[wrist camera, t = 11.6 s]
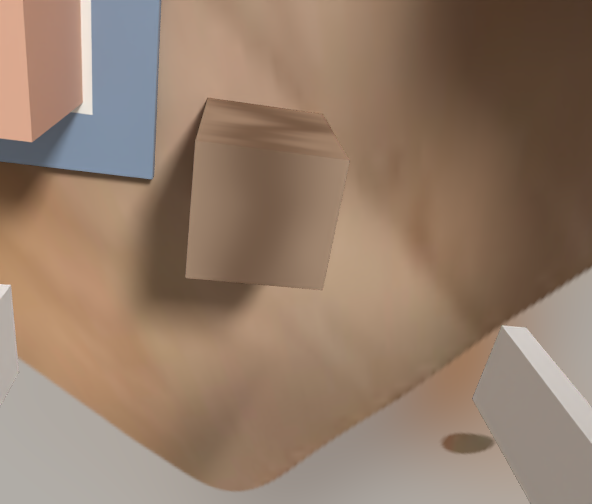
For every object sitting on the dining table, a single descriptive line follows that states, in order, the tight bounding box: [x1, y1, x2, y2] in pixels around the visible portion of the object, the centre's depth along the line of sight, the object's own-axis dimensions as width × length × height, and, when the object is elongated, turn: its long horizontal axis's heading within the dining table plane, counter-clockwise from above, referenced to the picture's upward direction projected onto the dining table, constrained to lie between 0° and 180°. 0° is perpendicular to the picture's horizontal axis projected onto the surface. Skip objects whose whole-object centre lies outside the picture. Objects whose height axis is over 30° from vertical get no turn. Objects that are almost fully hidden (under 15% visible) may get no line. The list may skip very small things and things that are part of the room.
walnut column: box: [185, 98, 350, 290], centre depth 25 cm, size 6×6×8 cm
